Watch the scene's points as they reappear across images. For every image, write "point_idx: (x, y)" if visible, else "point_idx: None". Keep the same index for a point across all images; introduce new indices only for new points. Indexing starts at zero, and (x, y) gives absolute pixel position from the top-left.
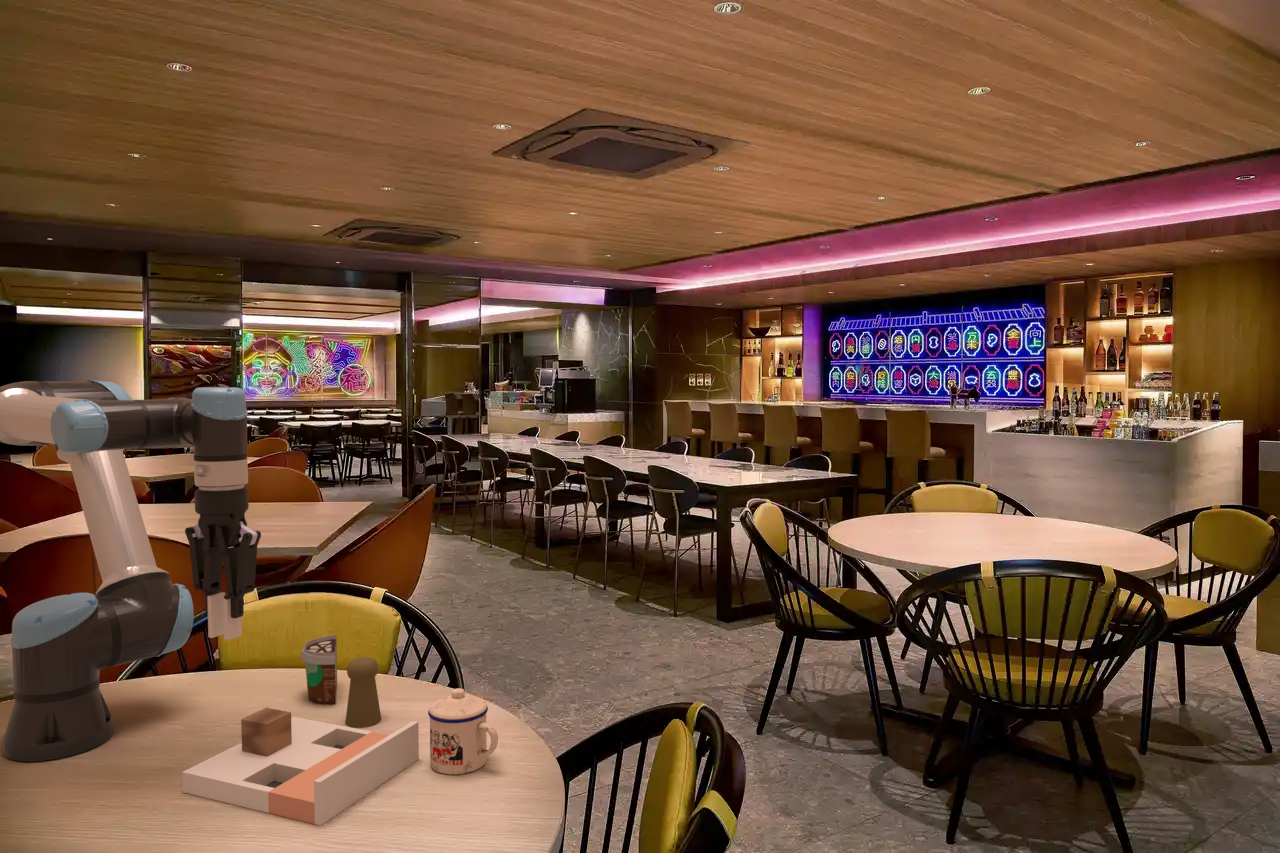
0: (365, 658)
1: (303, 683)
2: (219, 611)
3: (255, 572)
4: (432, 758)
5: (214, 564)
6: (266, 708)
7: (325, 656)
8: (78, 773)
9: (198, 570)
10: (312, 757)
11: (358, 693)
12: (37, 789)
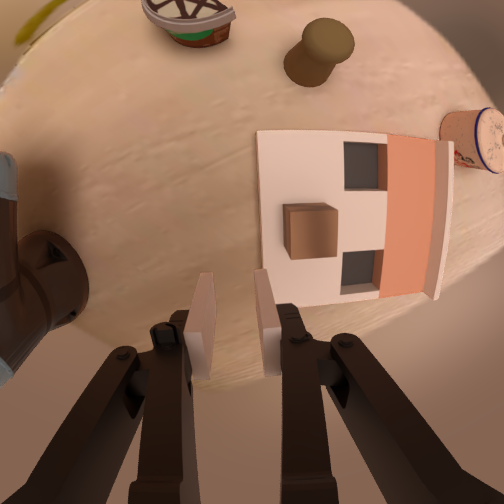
0: (336, 31)
1: (130, 16)
2: (209, 321)
3: (392, 379)
4: (455, 160)
5: (193, 455)
6: (293, 214)
7: (218, 17)
8: (130, 314)
9: (132, 437)
10: (372, 222)
11: (327, 68)
12: (136, 345)
